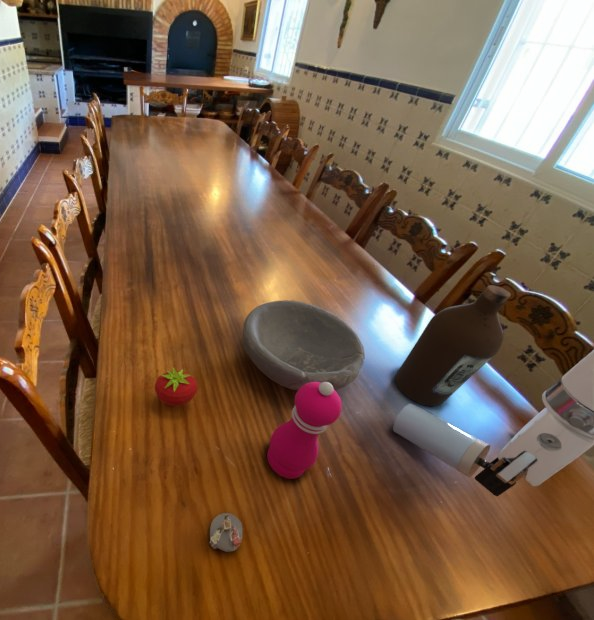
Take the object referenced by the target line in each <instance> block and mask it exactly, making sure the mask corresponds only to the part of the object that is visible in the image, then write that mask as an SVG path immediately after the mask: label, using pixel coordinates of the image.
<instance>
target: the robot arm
mask: <svg viewBox="0 0 594 620" xmlns="http://www.w3.org/2000/svg"><path fill="white" fill-rule="evenodd" d="M541 394H542V395H541V401H542V403H543V405H544V408H542V410H540V411H539V412H538V413H537V414H536V415H534V417H532V419H530V420H529V421H528V422H527V423H526V424H525V425H524V426H523V427H521V429H519V431H518V432H517V433H516V434H515V435H514V436H512V438H511V439H510V440H509V441H508V442H507V443H506V445H505V446H504V447H503V448H502V449H501V450H500V451H499V452H498V454H497V457H496V458H494V459H493V460H492V461H491V462H490V463H491V464H490V465H489V466H488V467H486V468H485V469H484V468H483V469H482V470H481V471H480V472H479V473H477V474H476V475H475V476H474V479H475V481H476V482H477V483H478V484H480V485H481V486H482V487H483V488H485V489H486V490H487V491H488V492H490V493H491V494H492V496H495V497H499V496H501V495H502V494H504V493H505V492H507V491H508V490H509V489H511V488H512V487H514V486H515V485H516V484H517V482H518V481H519V480H521V479H522V478H524V477H525V481H526V482H527V483H528V484H529V485H530V486H533V487H539V486H540V485H542V484H543V483H544V482H545V481H547V480H549V479H550V478H551V477H552V476H554V475H555V474H557V473H558V472H559V471H561V470H563V469H564V468H565V467H567V466H568V465H570V464H571V463H573V462H574V461H576V460H577V459H578V458H579V457H580V456H582V455H583V454H585V453H586V452H587V451H589V450H590V449H591V448H593V447H594V349H592V350H591V351H590V352H589V353H587V355H585V356H584V357H583V358H582V359H581V360H580V361H578V363H576V364H575V365H574V366H573V367H572V368H570V369H569V370H568V371H567V372H566V373H565V374H564V375H563V376H561V377H560V378H559V379H557V380H556V381H555V382H554V383H553V384H552V385H551V386H550V387H548V388H547V389H546V390H545V391H544V392H542V393H541ZM501 465H502V466H501ZM503 465H506V467H504V466H503Z"/></svg>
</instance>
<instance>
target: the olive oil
mask: <svg viewBox="0 0 594 620" xmlns="http://www.w3.org/2000/svg"><path fill="white" fill-rule="evenodd" d="M511 296H512V295H511V293H510V292H509V291H508V290H507V289H505V288H503V287H501V286H498V285H493V284H491V285H488V286H487V287H486V288H485V290H484V291H482V292H481V293H480V294H479V295H478V297H477V298H476V299H475V301H474V302H471V303H464V304H459V305H454V306H448V307H445V308H444V309H442V310H440V311H438V312H437V313H435V315H434V316H432V317H431V319H430V320H429V322H428V323H427V325H426V326H425V328H424V330H423V331H422V333H421V335H420V336H419V337H418V340H417V341H416V342H415V344H414V346H413V347H412V349H411V350H410V352H409V354H407V356H406V358H405V360H404V361H403V362H402V364H401V366H400V367H399V368H398V370H397V371H396V373H395V375H394V382H395V385H396V386H397V388H398V389H399V391H400V392H401V393H402V394H403V395H404V396H406V397H407V398H408V399H410V400H411V401H413V402H415V403H417V404H419V405H423V406H427V407H438V406H441V405H442V404H444V403H445V402H446V401H447V400H448V399H449V398H451V396H452V395H453V394H454V393H456V392H457V391H458V390H459V389H461V387H462V386H463V385H464V384H465V383H466V382H467V381H468V380H469V379H470V378H472V376H474V375H475V374H476V373H477V372H478V371H479V370H480V369H482V368H483V367H484V366H485V365H486V364H487V363H488V362H489V361H490V360H491V359H493V358H494V357H495V356H496V355H497V354H498V352H499V351H500V349H501V347H502V345H503V342H504V330H503V327H502V325H501V322H500V320H499V317H498V312H499V311H500V310H501V309H502V308H503V307H504V306H505V305H506V303H507V300H509V299H510V298H511Z"/></svg>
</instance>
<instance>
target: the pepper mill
mask: <svg viewBox="0 0 594 620" xmlns="http://www.w3.org/2000/svg"><path fill="white" fill-rule="evenodd" d="M342 409H343V404H342V400H341V397H340V395H339V393H338V392H337V391H336V390H334V389H333V386H332V385H331V384H330V383H329V382H323V383H320V382H310V383H307V384H305V385H303V386H302V387H301V388H300V389H299V390H297V391H296V393H295V396H294V406H293V408H292V410H291V417H292V418H291V419H290V420H288V421H286V422H284V423H281V424H280V425H279V426H277V427H276V428H275V429H274V430H273V432H272V434H271V436H270V441H269V447H268V450H267V453H266V456H267V457H266V459H267V461H268V464H269V466H270V467H271V469H272V470H273V472H275V473H276V474H277V475H278V476H281V477H282V478H285V479H290V480H291V479H292V480H293V479H298V478H300V477H301V476H303V474H304V473H305V472H306V470H309V469H310V468H311V467H313V466H314V464H315V463H316V461H317V459H318V456H319V448H320V447H319V441H318V437H319V434H322V433H324V432H325V431H326V430H327V429H328V427H329V426H330V425H332V424H334V423H335V422H336V421H337V420H338V419H339V418H340V416H341V413H342Z"/></svg>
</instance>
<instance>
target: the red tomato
mask: <svg viewBox="0 0 594 620" xmlns="http://www.w3.org/2000/svg"><path fill="white" fill-rule="evenodd" d="M154 391H155V394H156V396H157V398H158V400H160V401H161V402H162V403H164V404H165V405H168V406H170V407H178V406H182V405H185V404H187V403H189V402H190V401H191V400H193V398H194V397H195V396H196V394H197V393H198V382H197V380H196V379H195V377H194V376H192V374H189V373H187V372H184V368H182V369H181V370H180V371H179V370H176V369H175V367H174V366H173V367H172V371H169V370H168V369H166V370H165V372H164V373H162V374H160V376H159V377H158V378H157V379H156V381H155V383H154Z"/></svg>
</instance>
